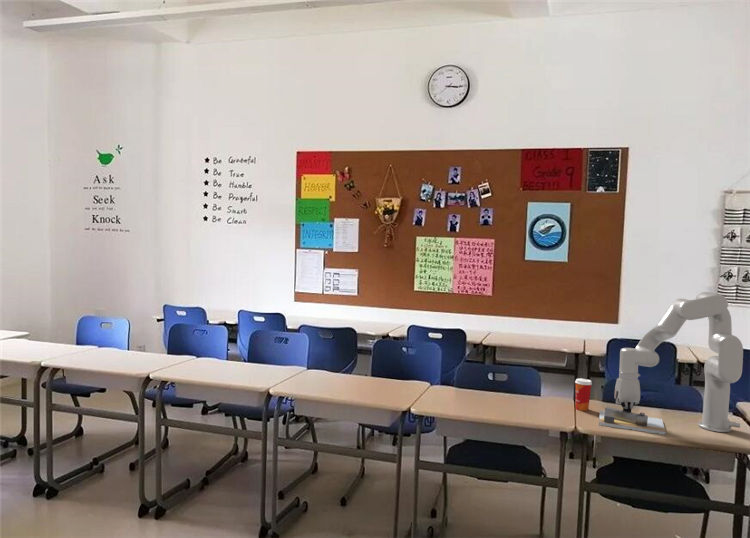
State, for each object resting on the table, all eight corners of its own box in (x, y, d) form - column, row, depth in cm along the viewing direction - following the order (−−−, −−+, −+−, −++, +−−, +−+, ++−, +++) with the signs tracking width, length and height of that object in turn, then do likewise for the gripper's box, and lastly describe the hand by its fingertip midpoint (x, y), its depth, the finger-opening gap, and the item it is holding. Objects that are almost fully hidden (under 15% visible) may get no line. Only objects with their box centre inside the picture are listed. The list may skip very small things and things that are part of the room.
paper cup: (575, 406, 284) (577, 377, 284) (591, 409, 280) (593, 380, 280) (571, 409, 278) (573, 380, 277) (588, 412, 274) (590, 383, 273)
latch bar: (648, 424, 254) (649, 413, 254) (645, 426, 250) (645, 415, 250) (607, 414, 266) (608, 404, 266) (603, 416, 263) (604, 406, 263)
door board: (661, 421, 264) (662, 412, 264) (665, 434, 246) (665, 425, 246) (599, 413, 274) (600, 404, 274) (598, 424, 256) (599, 415, 255)
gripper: (638, 373, 266) (637, 414, 267) (608, 374, 263) (606, 415, 264) (649, 377, 258) (647, 419, 259) (617, 378, 256) (616, 420, 257)
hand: (626, 416), depth 262 cm, fingers closed
